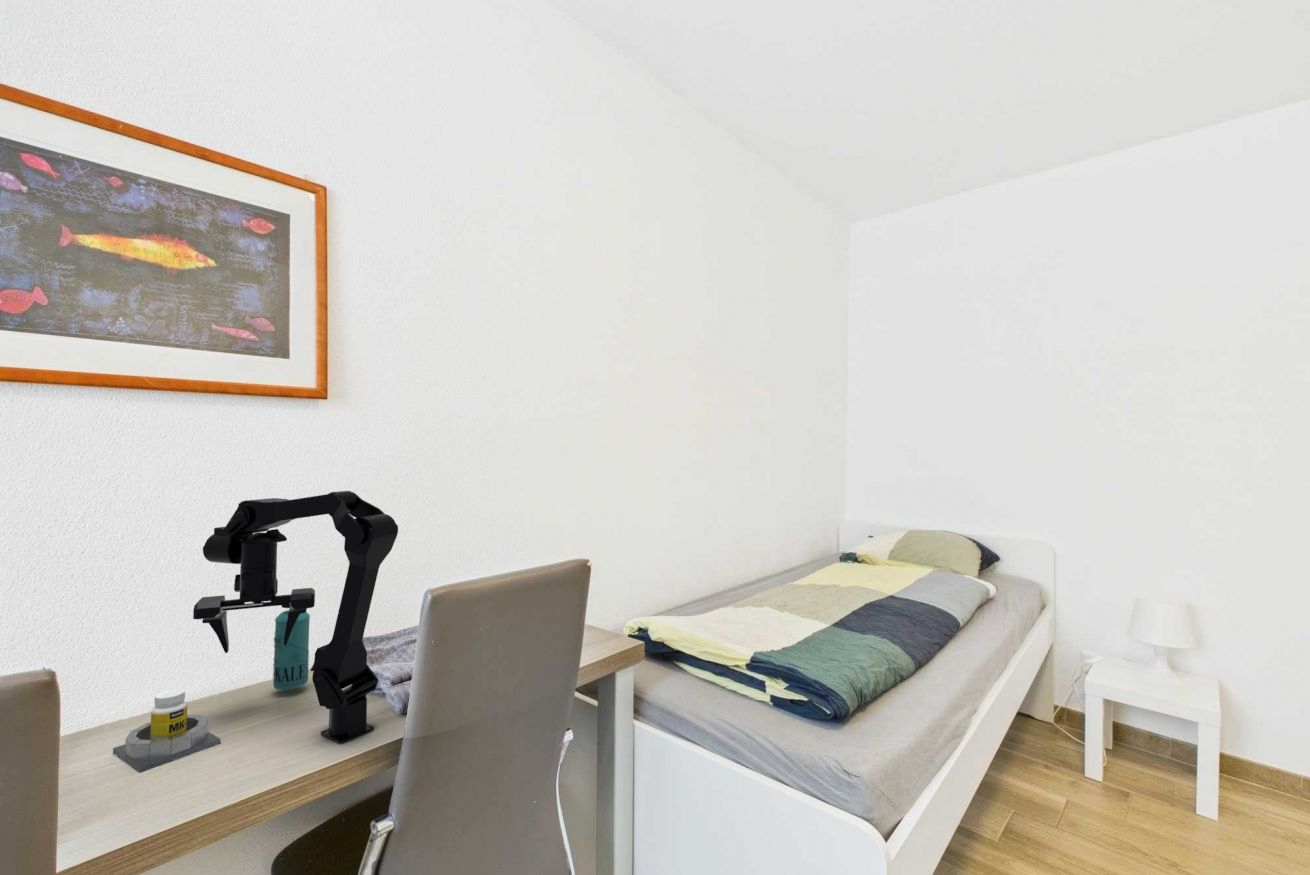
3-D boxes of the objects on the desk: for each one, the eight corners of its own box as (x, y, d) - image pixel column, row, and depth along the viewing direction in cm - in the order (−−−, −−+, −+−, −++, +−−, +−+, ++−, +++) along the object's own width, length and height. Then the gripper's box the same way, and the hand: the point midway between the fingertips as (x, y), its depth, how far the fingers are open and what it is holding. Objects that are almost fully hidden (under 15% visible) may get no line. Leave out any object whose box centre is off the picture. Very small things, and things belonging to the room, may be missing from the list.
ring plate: (220, 743, 102) (220, 723, 102) (139, 772, 93) (140, 751, 93) (191, 727, 108) (192, 708, 108) (113, 753, 98) (113, 732, 99)
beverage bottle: (294, 683, 128) (296, 590, 129) (316, 688, 126) (318, 593, 126) (264, 694, 122) (267, 597, 123) (286, 700, 120) (289, 600, 120)
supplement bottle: (170, 750, 98) (171, 699, 98) (142, 750, 98) (143, 698, 98) (193, 736, 103) (194, 687, 103) (166, 736, 103) (167, 687, 103)
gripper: (316, 554, 124) (314, 630, 124) (205, 562, 115) (203, 643, 115) (315, 564, 114) (313, 646, 114) (193, 572, 105) (191, 661, 105)
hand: (256, 648), depth 112 cm, fingers open, 9 cm apart
